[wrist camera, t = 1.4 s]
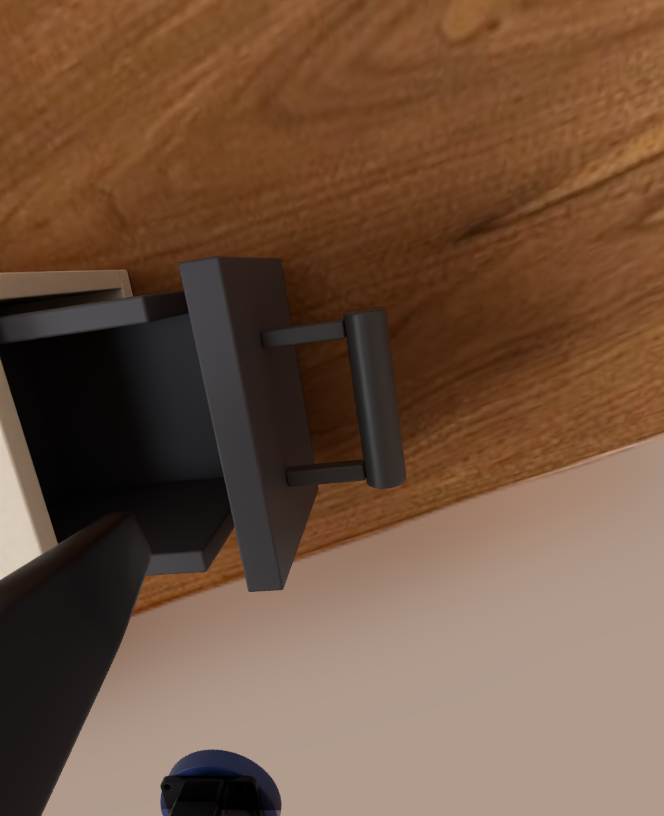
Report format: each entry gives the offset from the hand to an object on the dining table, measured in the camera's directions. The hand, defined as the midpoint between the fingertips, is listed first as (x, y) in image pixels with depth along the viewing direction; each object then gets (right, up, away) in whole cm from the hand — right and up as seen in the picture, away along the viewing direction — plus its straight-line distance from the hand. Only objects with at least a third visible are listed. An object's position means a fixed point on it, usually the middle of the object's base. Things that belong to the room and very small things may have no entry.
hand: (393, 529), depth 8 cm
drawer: (-6, +3, +16) cm, 17 cm away
